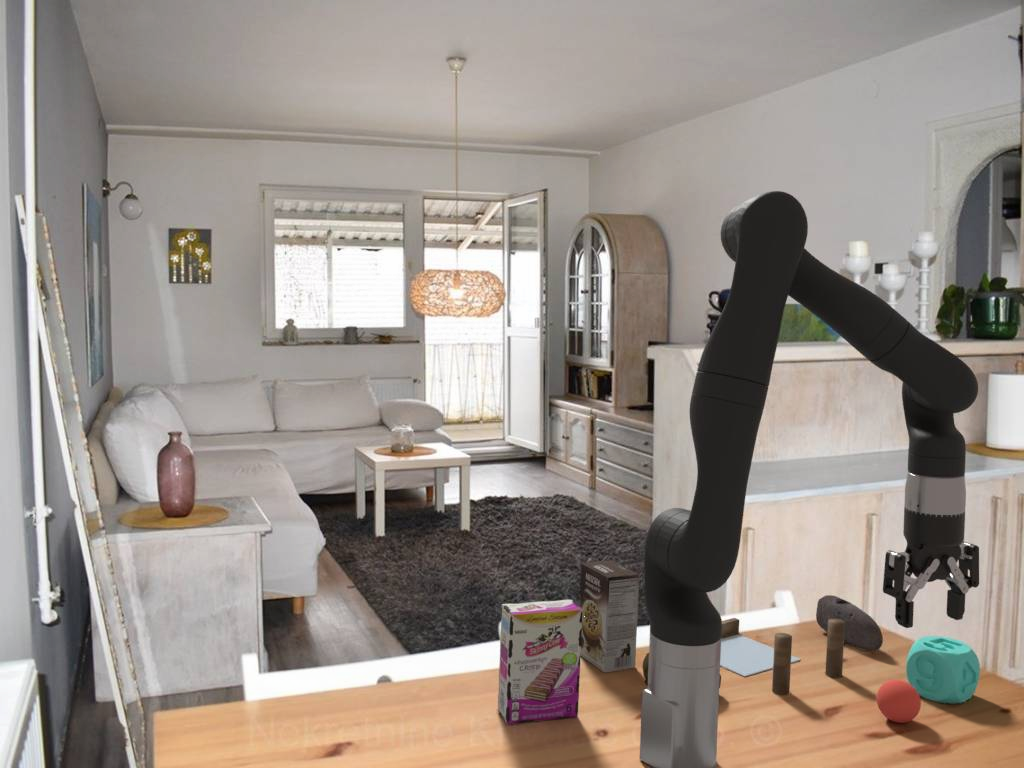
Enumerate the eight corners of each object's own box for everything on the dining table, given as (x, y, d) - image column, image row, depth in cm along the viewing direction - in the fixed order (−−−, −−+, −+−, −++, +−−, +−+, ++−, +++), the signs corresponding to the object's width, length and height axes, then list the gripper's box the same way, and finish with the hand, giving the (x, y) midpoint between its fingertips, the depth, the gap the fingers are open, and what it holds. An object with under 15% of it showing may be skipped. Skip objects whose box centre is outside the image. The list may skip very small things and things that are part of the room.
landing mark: (744, 677, 152) (744, 675, 152) (683, 649, 164) (683, 648, 164) (800, 660, 160) (800, 659, 160) (738, 635, 172) (738, 634, 172)
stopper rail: (675, 649, 164) (676, 635, 164) (670, 647, 165) (671, 633, 165) (738, 632, 173) (739, 619, 173) (733, 630, 174) (734, 617, 174)
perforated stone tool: (891, 656, 163) (894, 617, 163) (867, 659, 161) (869, 620, 161) (835, 627, 177) (837, 592, 177) (812, 630, 175) (814, 594, 175)
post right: (835, 679, 152) (838, 625, 151) (822, 673, 154) (824, 620, 154) (845, 675, 154) (848, 622, 153) (832, 670, 156) (834, 617, 155)
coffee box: (576, 654, 161) (579, 562, 159) (608, 649, 163) (611, 558, 162) (603, 673, 152) (606, 576, 151) (637, 668, 155) (640, 572, 154)
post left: (781, 696, 145) (784, 639, 144) (768, 690, 147) (771, 634, 146) (792, 692, 146) (795, 636, 146) (779, 687, 149) (782, 631, 148)
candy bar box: (507, 727, 132) (509, 614, 131) (497, 712, 137) (499, 603, 136) (580, 718, 136) (583, 607, 134) (568, 703, 141) (571, 597, 139)
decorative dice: (978, 696, 147) (982, 646, 146) (953, 709, 142) (957, 658, 141) (929, 679, 153) (932, 632, 152) (903, 691, 148) (906, 642, 147)
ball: (903, 733, 133) (906, 692, 133) (866, 717, 138) (869, 678, 137) (928, 723, 136) (930, 683, 136) (891, 708, 141) (893, 670, 141)
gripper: (912, 517, 120) (908, 639, 122) (998, 507, 125) (992, 624, 127) (872, 504, 127) (868, 619, 129) (954, 495, 132) (949, 606, 134)
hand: (930, 622), depth 128 cm, fingers open, 8 cm apart
